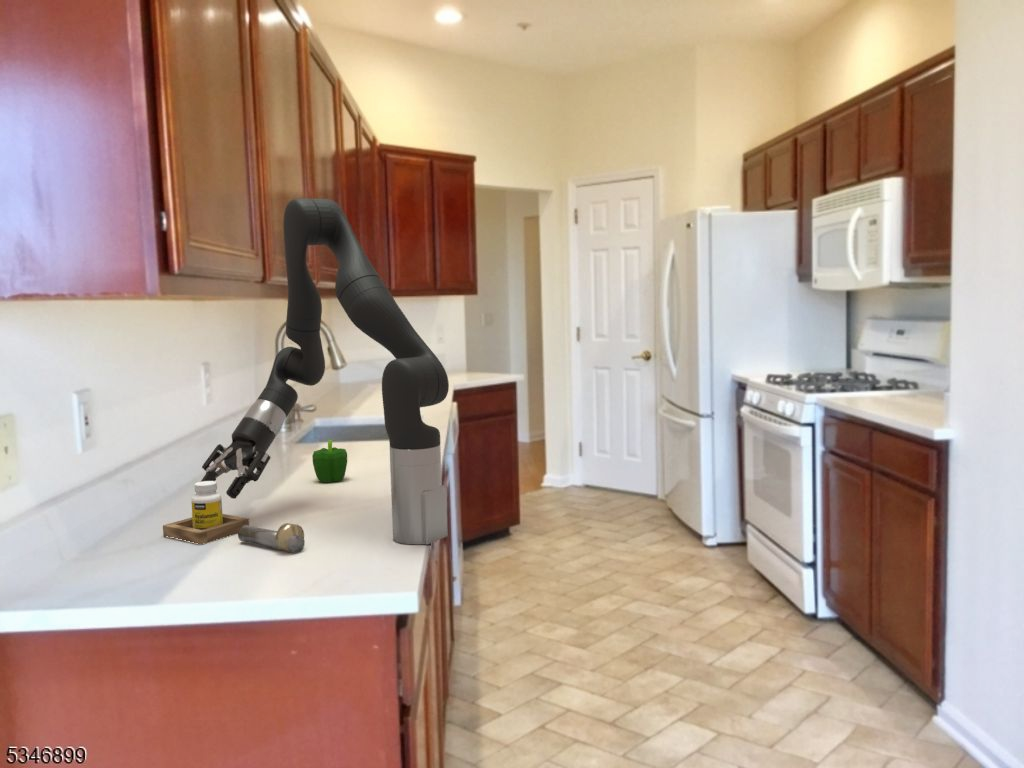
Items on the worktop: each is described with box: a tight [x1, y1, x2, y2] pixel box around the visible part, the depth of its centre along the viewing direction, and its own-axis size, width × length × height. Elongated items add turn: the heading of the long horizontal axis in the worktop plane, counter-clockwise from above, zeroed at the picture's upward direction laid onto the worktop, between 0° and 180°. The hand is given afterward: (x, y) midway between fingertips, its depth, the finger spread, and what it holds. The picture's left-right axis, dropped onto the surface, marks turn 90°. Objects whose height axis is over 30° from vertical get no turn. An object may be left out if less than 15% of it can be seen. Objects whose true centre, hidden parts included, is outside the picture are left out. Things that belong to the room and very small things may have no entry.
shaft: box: [237, 522, 306, 554], centre depth 140 cm, size 14×5×5 cm, turn 58°
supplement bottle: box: [191, 481, 223, 530], centre depth 150 cm, size 5×5×10 cm
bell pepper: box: [311, 439, 348, 483], centre depth 194 cm, size 8×8×10 cm
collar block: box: [162, 513, 250, 545], centre depth 150 cm, size 11×11×2 cm
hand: (215, 493), depth 151 cm, fingers open, 8 cm apart
